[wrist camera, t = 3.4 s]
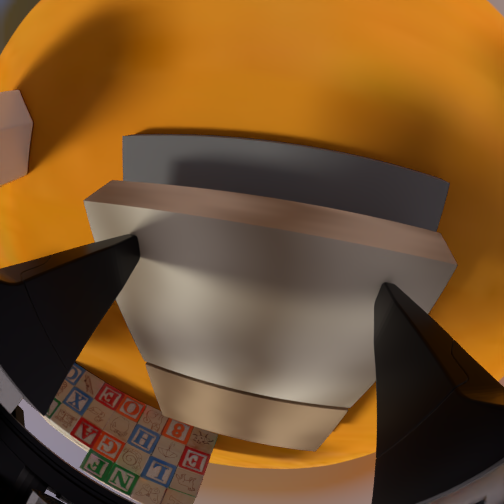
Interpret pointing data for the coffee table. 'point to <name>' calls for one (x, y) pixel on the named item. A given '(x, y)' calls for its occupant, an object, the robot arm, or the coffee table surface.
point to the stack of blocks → (130, 441)
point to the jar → (14, 137)
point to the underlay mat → (287, 175)
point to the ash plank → (263, 286)
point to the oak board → (243, 411)
